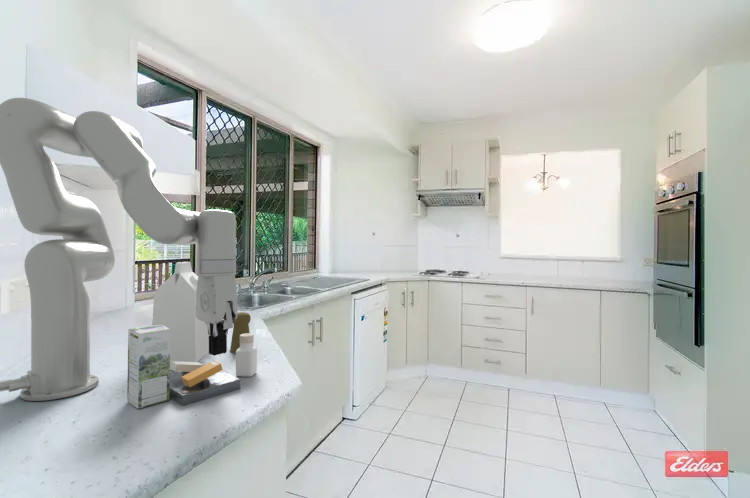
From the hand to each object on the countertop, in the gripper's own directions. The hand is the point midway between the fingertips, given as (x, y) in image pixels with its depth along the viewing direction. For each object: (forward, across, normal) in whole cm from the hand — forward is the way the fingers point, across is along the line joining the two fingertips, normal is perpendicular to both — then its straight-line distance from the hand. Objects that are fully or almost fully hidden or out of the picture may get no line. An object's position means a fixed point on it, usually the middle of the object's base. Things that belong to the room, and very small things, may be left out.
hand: (217, 353), depth 81 cm
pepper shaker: (+8, -24, +19) cm, 31 cm away
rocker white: (+4, -7, -3) cm, 8 cm away
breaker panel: (+8, -4, -3) cm, 9 cm away
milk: (+8, -30, +5) cm, 31 cm away
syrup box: (+8, -4, -12) cm, 15 cm away
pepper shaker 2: (+8, -4, +9) cm, 12 cm away
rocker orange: (+4, 0, -3) cm, 5 cm away
